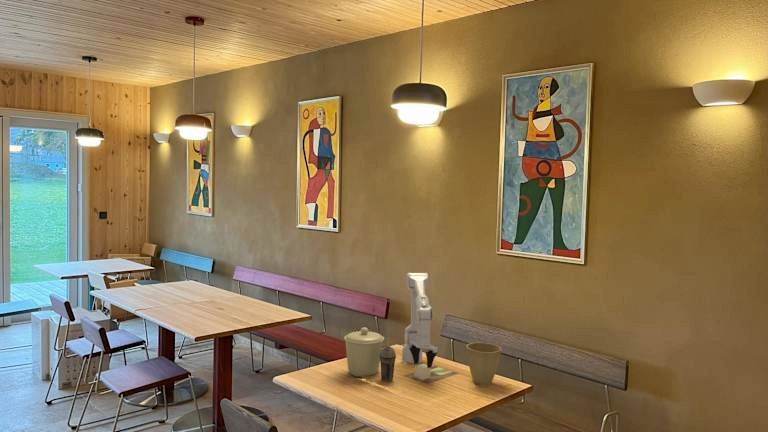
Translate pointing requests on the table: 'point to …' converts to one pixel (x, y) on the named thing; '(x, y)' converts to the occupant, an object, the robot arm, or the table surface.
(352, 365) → the canister
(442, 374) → the post board
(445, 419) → the table surface
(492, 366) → the plant pot
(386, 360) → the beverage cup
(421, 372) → the beige stacked cube
